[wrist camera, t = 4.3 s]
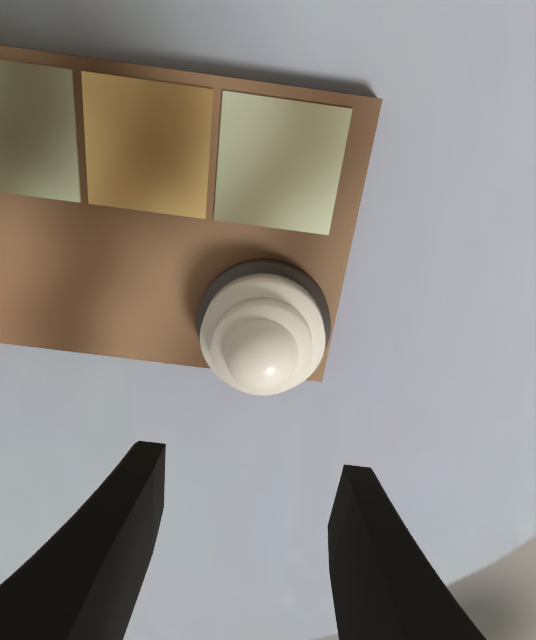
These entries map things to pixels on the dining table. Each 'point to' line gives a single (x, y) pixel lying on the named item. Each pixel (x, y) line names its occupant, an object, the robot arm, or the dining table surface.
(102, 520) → the robot arm
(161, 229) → the game board
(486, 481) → the dining table surface
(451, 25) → the dining table surface
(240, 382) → the dome
